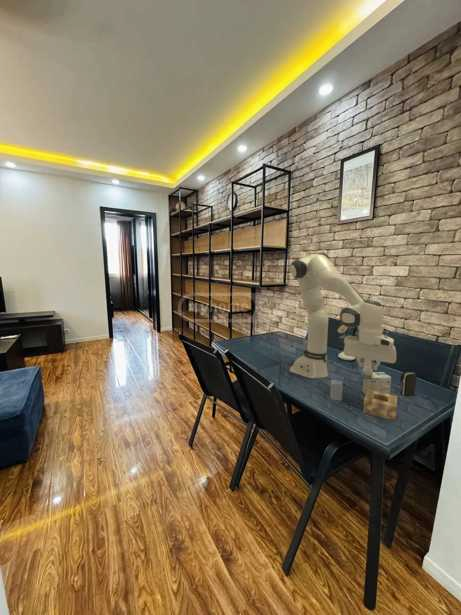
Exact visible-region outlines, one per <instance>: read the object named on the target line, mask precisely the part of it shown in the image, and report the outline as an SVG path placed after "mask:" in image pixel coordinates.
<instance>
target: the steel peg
mask: <svg viewBox="0 0 461 615" xmlns="http://www.w3.org/2000/svg"><path fill="white" fill-rule="evenodd" d="M362 359H363V360H362V363H363V368H362V370H361V371H362V374H361V378H362V379H367V380H372V376H373V372H374V370H373V365H374V363H375V362H374V361H375V360H371V358H370V357H365V359H364V358H362Z"/></svg>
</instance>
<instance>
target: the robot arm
mask: <svg viewBox="0 0 461 615" xmlns="http://www.w3.org/2000/svg"><path fill="white" fill-rule="evenodd" d="M289 270H290V272H291V273H290V274H291V276H292V277H294V278H295V279H297V283H298V288H299V291H300V296H301V298H302V302H303V305H304V307H305V309H306V312H307V313H306V314H307V315H308V318H307V347H306V348H305V349H304V350H303V355H301V356H300V357H298V358H297V359H296V360H294V363H293V365H291V366H290V368H289V372H290V373H293V374H297V375H299V376H302V377H306V378H308V379H312V380H313V379H317V378H318V379H323V378H326V377H328V376H329V371H328V368H327V360H328V351H327V349H328V348H327V347H328V346H327V345H328V330H329V314H328V310H327V308H326V304H325V302H324V298H323V296H322V292H321V289H323V290H324V291H328V292H331V293H336V294H339V295H341V296H343V297H344V299H345V300H346V301H347V302H348V304H350V306H345V307H344V308H342V309H341V311H340V313H339V321H340V323H341V324H342V325H343V326H346V327H348V328H358V336H356V335H351V334H348V335H345V336H346V337H344V338H343V344H344V346H343V347H344V348H343V351H344V354H345V355H346V356H352V357H355V358H356V361H357V363H358V368H362V369H363V362H362V361H361V359H363V358H364V359H365V357H370V358H371V360H374V361H376V364H373V371H377V370H378V366H380V365H381V362H383V363H389V364H395V363H396V361H397V350H396V349H397V348H396V346H395V345H394V343H395V340H394V338H392V337H390V336H387V335H384V334H383V329H382V328H383V327H382V326H383V325H384V324H383V323H384V307H383V304H382V303H380V302H379V301H377V300H372V299H371V300H369V299H364V297H363V296H362V295H361V294H360V293H359V292H358V291H357V289H356V288H355V287H354V286H353V285H352V283H350V282H349V281H348V280H347V279H346V278H345V277H344V276H342V274H341V273H340V272H339V271H338V269H337V268H336V266H335V265H334V264H333V263H332V261H331V260H330V258H329V256H328V255H327V254H326V253H324V252H318V253H315V254H309V255H307V256H304V257H302V258H299V259H296V260H293V261H291V264H290V268H289ZM320 287H321V288H320ZM350 335H351V336H350Z"/></svg>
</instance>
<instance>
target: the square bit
mask: <svg viewBox="0 0 461 615" xmlns="http://www.w3.org/2000/svg"><path fill="white" fill-rule="evenodd" d="M343 385H344V384H343V381H342V380H337V379H330V388H329V389H330V392H329V397H330V399H329V400H334V401H340V402H342V400H343Z"/></svg>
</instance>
